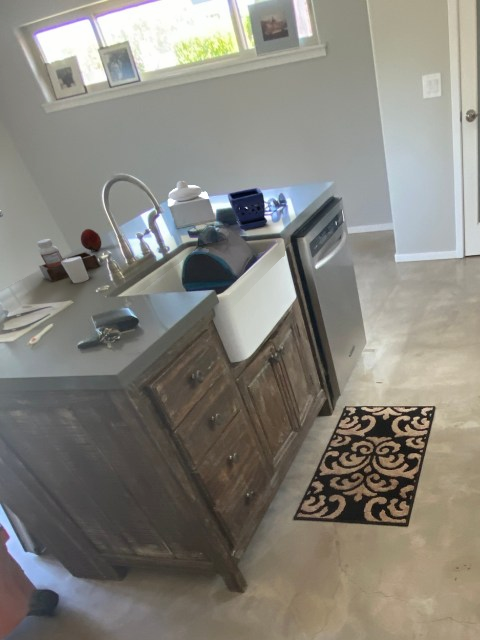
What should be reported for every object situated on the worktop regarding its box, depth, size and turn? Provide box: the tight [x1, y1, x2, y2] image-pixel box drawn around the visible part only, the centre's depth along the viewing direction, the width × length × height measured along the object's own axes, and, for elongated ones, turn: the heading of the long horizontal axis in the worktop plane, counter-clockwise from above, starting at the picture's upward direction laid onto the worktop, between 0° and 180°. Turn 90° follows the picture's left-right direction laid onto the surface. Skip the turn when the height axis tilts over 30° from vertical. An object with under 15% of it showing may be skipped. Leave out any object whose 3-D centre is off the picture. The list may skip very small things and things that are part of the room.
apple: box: [80, 228, 102, 252], centre depth 212 cm, size 7×8×8 cm
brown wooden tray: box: [38, 251, 101, 283], centre depth 193 cm, size 18×10×4 cm, turn 134°
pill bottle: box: [36, 238, 64, 269], centre depth 188 cm, size 6×6×11 cm
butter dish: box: [167, 180, 216, 230], centre depth 229 cm, size 18×18×16 cm
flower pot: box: [227, 187, 268, 231], centre depth 210 cm, size 13×13×12 cm
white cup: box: [61, 257, 90, 284], centre depth 182 cm, size 7×7×7 cm
